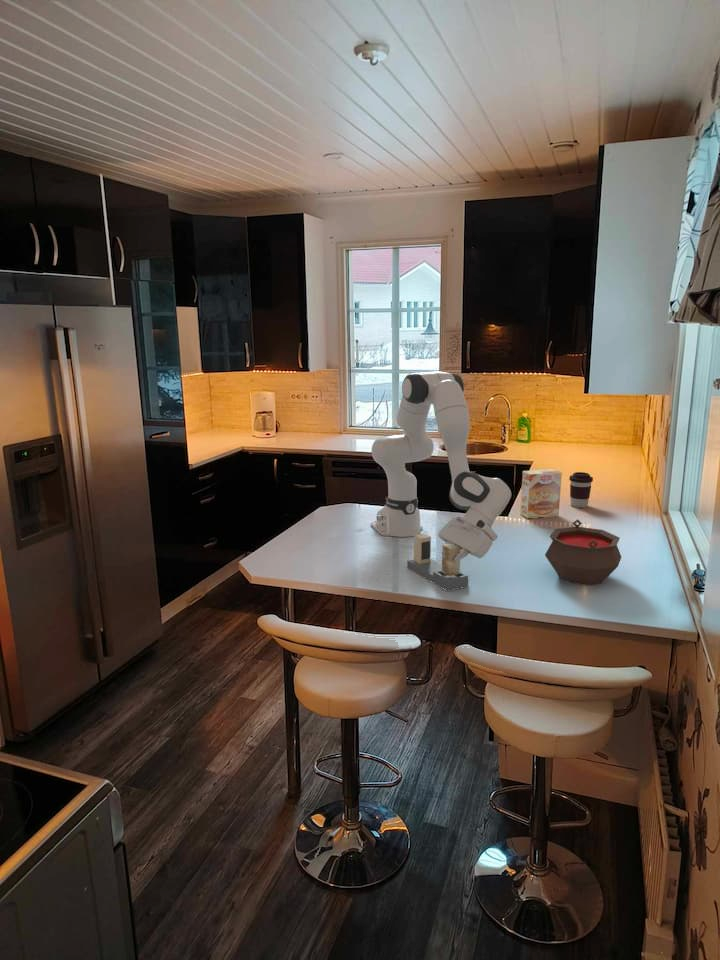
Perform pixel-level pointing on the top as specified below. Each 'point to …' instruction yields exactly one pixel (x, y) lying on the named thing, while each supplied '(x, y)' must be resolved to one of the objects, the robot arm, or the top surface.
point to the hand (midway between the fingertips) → (449, 558)
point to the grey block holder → (433, 565)
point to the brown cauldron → (583, 554)
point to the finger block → (450, 559)
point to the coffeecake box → (540, 493)
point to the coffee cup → (580, 489)
